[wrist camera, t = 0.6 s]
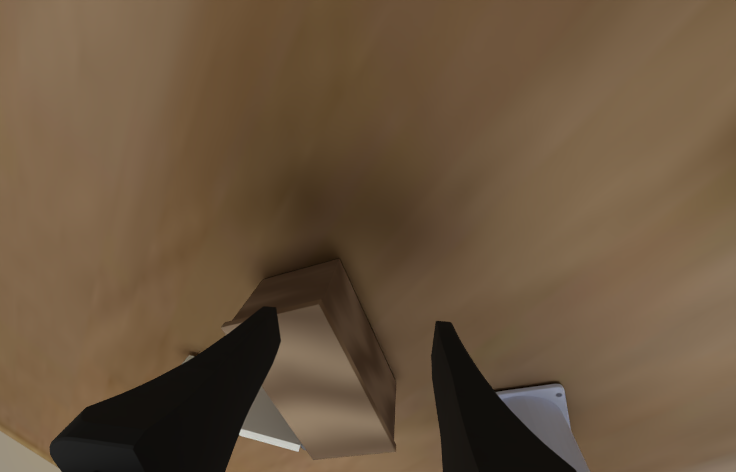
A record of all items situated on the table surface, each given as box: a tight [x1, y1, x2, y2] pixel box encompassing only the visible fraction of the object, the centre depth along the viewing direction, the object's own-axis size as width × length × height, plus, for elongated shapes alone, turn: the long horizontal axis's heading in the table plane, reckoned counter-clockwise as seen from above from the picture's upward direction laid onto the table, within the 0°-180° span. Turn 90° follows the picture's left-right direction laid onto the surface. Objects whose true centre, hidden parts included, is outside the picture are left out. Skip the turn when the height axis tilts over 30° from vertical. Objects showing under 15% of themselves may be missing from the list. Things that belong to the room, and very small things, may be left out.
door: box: [181, 355, 306, 452], centre depth 29 cm, size 14×2×5 cm, turn 76°
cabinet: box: [221, 259, 396, 460], centre depth 25 cm, size 15×7×6 cm, turn 21°
